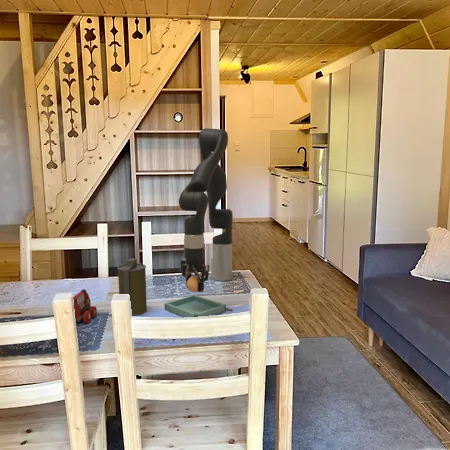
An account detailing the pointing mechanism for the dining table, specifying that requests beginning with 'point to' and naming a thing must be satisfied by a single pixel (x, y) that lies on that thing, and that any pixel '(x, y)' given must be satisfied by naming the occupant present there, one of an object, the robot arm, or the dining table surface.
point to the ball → (193, 284)
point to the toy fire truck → (83, 307)
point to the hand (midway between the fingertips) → (194, 289)
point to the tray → (195, 307)
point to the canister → (133, 284)
